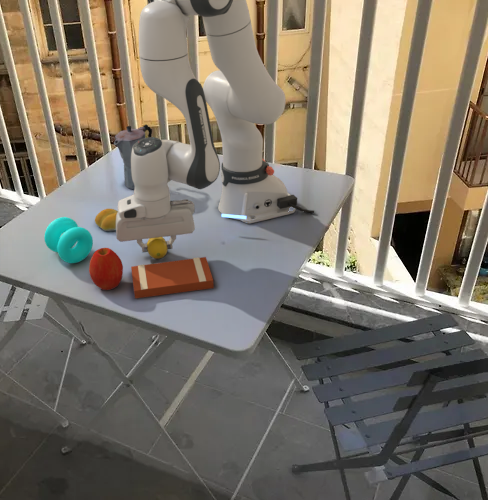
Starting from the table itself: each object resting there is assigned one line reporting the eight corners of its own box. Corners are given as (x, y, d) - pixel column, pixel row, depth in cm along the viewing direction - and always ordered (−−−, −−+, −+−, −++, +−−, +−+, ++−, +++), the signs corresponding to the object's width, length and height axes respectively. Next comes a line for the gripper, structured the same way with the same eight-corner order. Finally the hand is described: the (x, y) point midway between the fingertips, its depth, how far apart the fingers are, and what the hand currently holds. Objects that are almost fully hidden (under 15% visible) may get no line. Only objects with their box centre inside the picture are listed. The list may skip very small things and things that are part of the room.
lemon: (147, 249, 151) (145, 233, 148) (166, 246, 151) (164, 230, 148) (149, 265, 145) (147, 248, 142) (169, 262, 145) (167, 245, 142)
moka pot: (111, 188, 181) (103, 129, 170) (144, 170, 191) (138, 114, 180) (132, 196, 176) (125, 136, 165) (165, 177, 185) (160, 119, 174)
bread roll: (109, 235, 158) (107, 223, 156) (91, 224, 164) (89, 212, 161) (132, 224, 162) (131, 212, 160) (114, 213, 168) (112, 201, 166)
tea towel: (206, 264, 143) (205, 256, 142) (213, 288, 135) (213, 279, 133) (132, 274, 142) (131, 266, 140) (135, 298, 133) (133, 290, 132)
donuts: (78, 241, 156) (72, 210, 151) (97, 255, 150) (91, 223, 144) (46, 255, 151) (39, 223, 146) (64, 271, 145) (57, 238, 139)
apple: (115, 270, 143) (110, 235, 137) (131, 286, 138) (126, 250, 132) (86, 282, 140) (79, 246, 134) (101, 299, 134) (94, 262, 128)
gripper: (192, 192, 143) (194, 238, 150) (112, 201, 141) (118, 247, 149) (196, 204, 137) (198, 251, 145) (112, 214, 136) (119, 261, 144)
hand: (157, 249), depth 147 cm, fingers closed on lemon, 5 cm apart
